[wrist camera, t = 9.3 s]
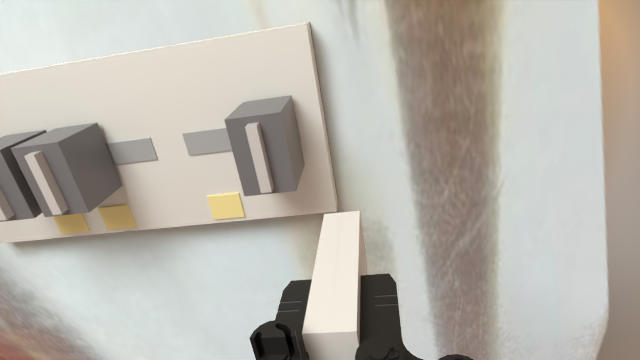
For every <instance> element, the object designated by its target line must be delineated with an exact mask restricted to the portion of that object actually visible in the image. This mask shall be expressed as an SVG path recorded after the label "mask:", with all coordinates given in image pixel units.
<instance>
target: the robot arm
mask: <svg viewBox="0 0 640 360" xmlns="http://www.w3.org/2000/svg"><path fill="white" fill-rule="evenodd" d="M250 341H251V345H252V348H253V351H254V354H255V358H256V360H423V359H420V358H417V357H416V356H414V355H412V354H411V353H410V352H409V351H408V350H407V349H406V348H405V346H404V344H403V341H402V336H401V326H400V317H399V307H398V297H397V288H396V282H395V281H394V280H393V278H392V277H391V276H390V274H376V275H367V260H366V253H365V245H364V238H363V231H362V224H361V216H360V211H352V212H341V213H330V214H324V218H323V223H322V228H321V234H320V239H319V244H318V250H317V255H316V261H315V266H314V271H313V277H312V280H297V281H291V282H290V283H289V284H288V286H287V287H286V288H285V289H284V290H283V293H282V297H281V301H280V304H279V308H278V313H277V315H276V319H275V320H274V321H269V322H267V323H264V324H262V325H260V326H259V327H258V328H257V329H256V330H255V331H254V332H253V333H252V335H251V337H250ZM439 360H473V359H471V358H469V357H467V356H463V355H459V354H455V355H447V356H444V357H442V358H440V359H439Z"/></svg>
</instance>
